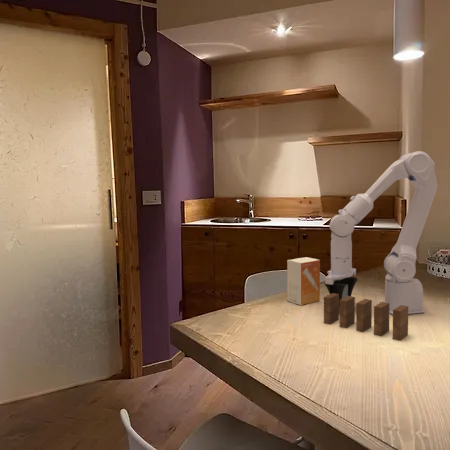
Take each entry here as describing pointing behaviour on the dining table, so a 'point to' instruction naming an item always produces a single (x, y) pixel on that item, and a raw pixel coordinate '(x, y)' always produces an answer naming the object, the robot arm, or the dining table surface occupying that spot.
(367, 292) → the dining table surface
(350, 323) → the domino
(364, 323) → the domino
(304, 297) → the small box
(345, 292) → the gray rectangular block
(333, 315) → the domino
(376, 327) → the domino
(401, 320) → the domino
